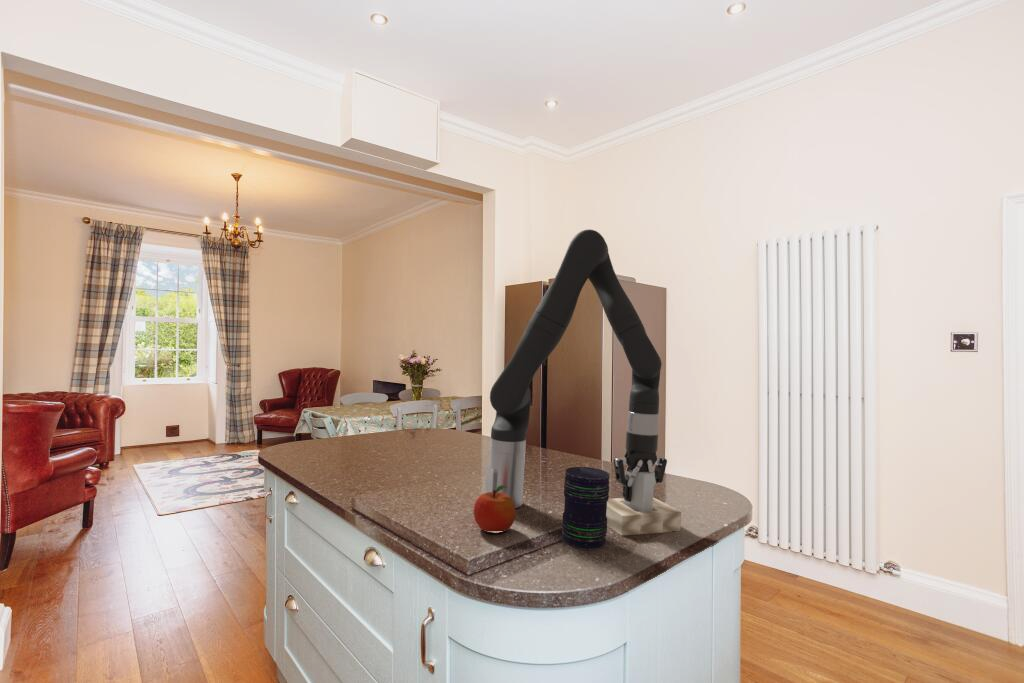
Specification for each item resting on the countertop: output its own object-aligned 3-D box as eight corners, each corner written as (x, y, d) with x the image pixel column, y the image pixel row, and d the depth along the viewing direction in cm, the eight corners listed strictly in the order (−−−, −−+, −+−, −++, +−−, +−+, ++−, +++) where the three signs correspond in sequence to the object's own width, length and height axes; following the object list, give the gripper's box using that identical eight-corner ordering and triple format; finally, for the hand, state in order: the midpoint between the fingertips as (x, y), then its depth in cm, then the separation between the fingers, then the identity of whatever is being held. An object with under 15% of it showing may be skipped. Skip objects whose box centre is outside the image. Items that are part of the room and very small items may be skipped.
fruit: (466, 525, 116) (468, 481, 116) (504, 521, 120) (506, 479, 120) (481, 540, 107) (483, 493, 107) (521, 536, 111) (524, 490, 111)
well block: (621, 535, 115) (622, 515, 115) (596, 517, 126) (597, 499, 126) (680, 531, 120) (681, 512, 120) (651, 513, 131) (652, 496, 131)
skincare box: (652, 523, 122) (657, 473, 122) (640, 526, 119) (645, 474, 119) (632, 515, 127) (637, 467, 127) (620, 517, 124) (625, 468, 124)
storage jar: (615, 545, 109) (619, 476, 109) (581, 553, 104) (585, 480, 104) (585, 529, 118) (589, 465, 118) (551, 536, 112) (555, 469, 112)
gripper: (624, 433, 117) (620, 506, 117) (676, 433, 122) (672, 503, 122) (608, 428, 124) (604, 496, 124) (658, 428, 129) (654, 494, 129)
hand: (638, 499), depth 123 cm, fingers open, 5 cm apart
